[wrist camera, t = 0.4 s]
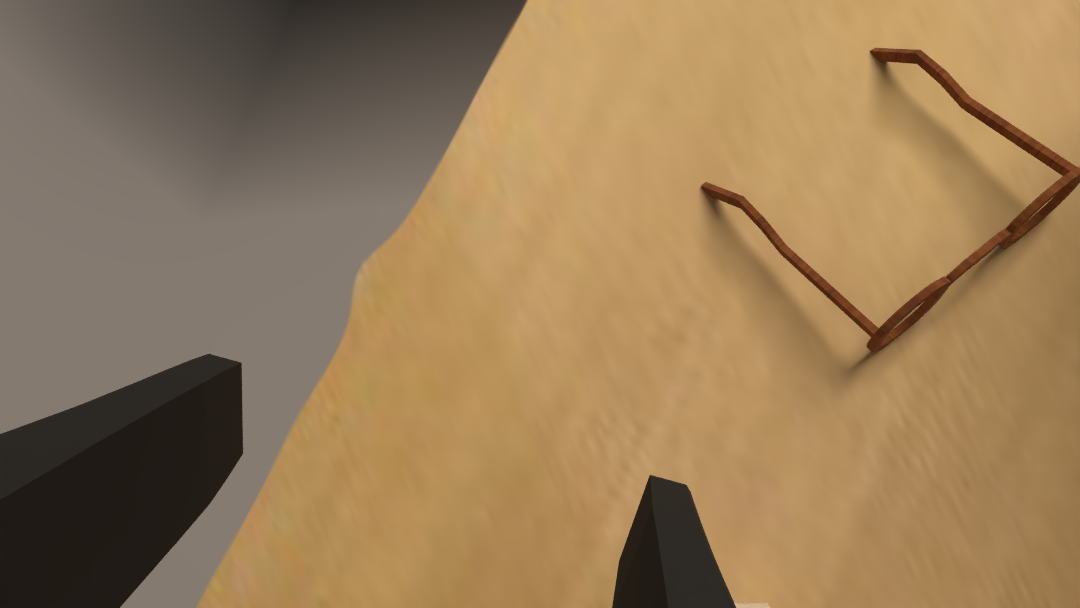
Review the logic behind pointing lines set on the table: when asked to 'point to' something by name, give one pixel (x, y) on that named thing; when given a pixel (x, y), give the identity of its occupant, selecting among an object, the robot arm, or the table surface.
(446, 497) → the table surface
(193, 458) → the robot arm
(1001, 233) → the glasses
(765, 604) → the block
